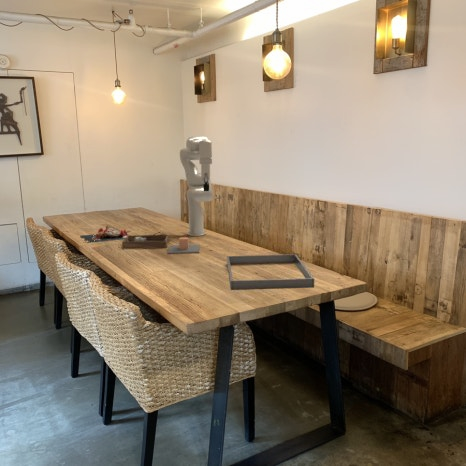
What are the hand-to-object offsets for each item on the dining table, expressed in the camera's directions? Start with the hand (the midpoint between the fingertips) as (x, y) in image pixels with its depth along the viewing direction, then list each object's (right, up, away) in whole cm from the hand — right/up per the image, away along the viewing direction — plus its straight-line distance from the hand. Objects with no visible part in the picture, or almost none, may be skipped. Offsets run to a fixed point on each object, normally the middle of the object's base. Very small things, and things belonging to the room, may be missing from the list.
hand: (206, 190), depth 280 cm
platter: (-68, -30, +32) cm, 80 cm away
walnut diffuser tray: (-37, -33, +7) cm, 50 cm away
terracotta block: (-13, -35, -8) cm, 38 cm away
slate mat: (-13, -36, -8) cm, 39 cm away
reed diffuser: (-36, -33, +10) cm, 49 cm away
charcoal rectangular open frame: (+32, -46, -60) cm, 81 cm away
